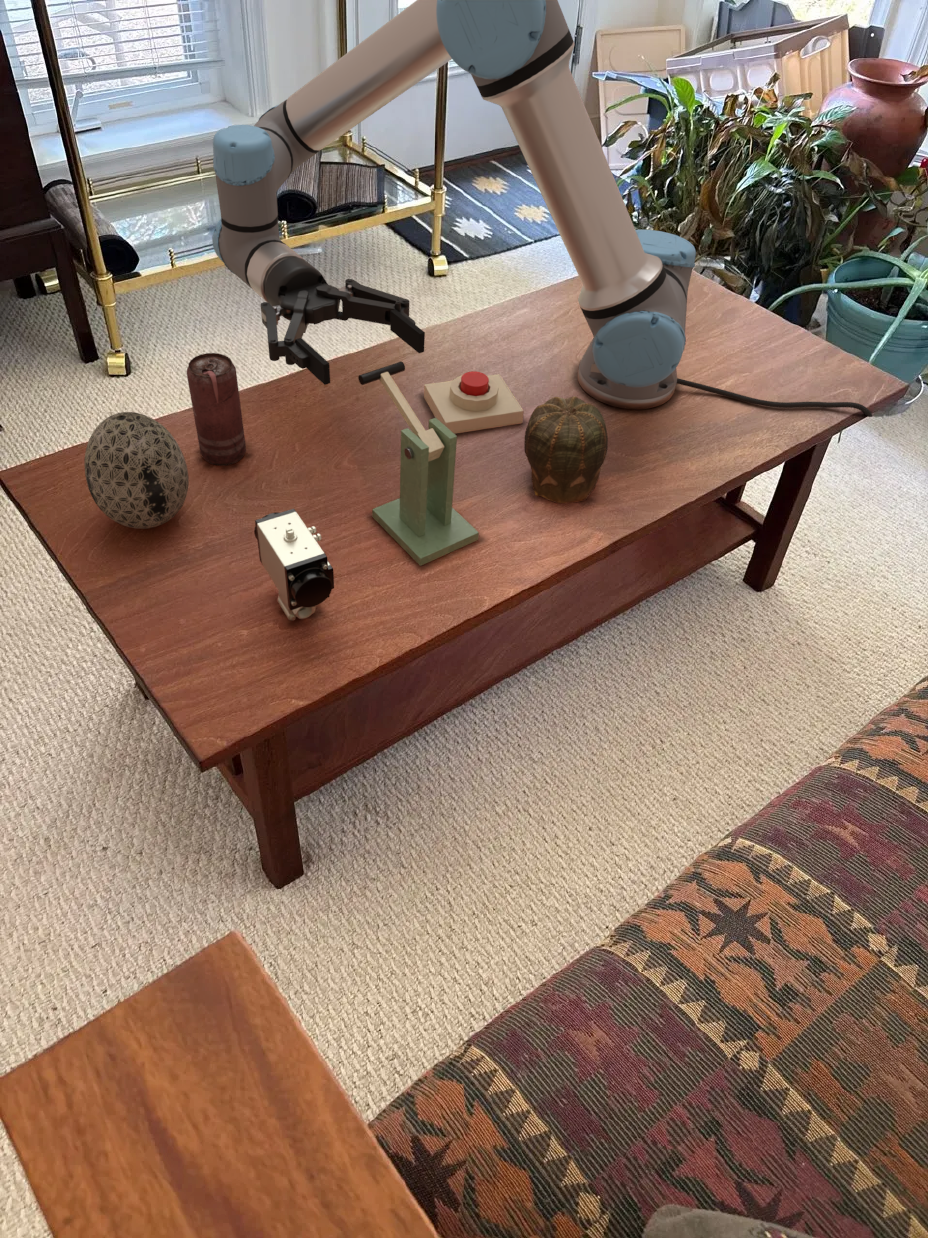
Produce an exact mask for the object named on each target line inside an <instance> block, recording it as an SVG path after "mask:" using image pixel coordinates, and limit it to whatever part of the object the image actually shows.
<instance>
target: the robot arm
mask: <svg viewBox="0 0 928 1238" xmlns="http://www.w3.org/2000/svg"><path fill="white" fill-rule="evenodd" d="M574 48H575V41H574V38H573V35H572V33H571V31H570V28H569V26H568V23H567V21H566V18H565V16H564V13H563V11H562V7H561V6H560V3H559V1H558V0H415V1H414V2H412V3H411V4H410V5H409V6H407V7H406V8H405V9H403V10H401V11H400V12H399V13H398V14H396V15H395V16H394V17H392V18H391V19H390V20H389V21H387V22H386V23H385V24H383V25H382V26H381V27H380V28H378V29H377V30H375V31H374V32H372V33H371V34H370V35H369V36H367V37H366V38H365V39H364V40H362V41H361V42H359V43H358V44H357V45H355V46H354V47H353V48H352V49H350V50H349V51H348V52H346V53H345V54H344V55H342V56H341V57H339V58H338V59H337V60H336V61H334V62H333V63H331V64H330V65H329V66H328V67H326V68H325V69H324V70H323V71H321V72H320V73H318V74H317V75H316V76H315V77H313V78H312V79H310V80H309V81H308V82H307V83H306V84H304V85H303V86H302V87H300V88H299V89H298V90H296V91H295V92H293V93H292V94H291V95H290V96H288V98H287V99H285V100H284V101H282V102H280V103H278V104H276V105H275V106H272V107H271V108H269V109H268V110H266V111H265V112H264V113H263V114H261V116H260V117H259V118H258V120H257V122H256V123H255V124H254V125H251V124H232V125H228V127H223V128H220V129H219V130H217V132H215V134H214V135H213V138H212V154H213V157H212V164H213V165H212V167H213V170H214V175H215V181H216V189H217V196H218V204H219V211H220V219H219V220H218V221H217V223H216V224H215V228H214V231H213V234H212V239H211V241H212V247H213V250H214V253H215V254H216V256H217V257H218V258H219V260H220V261H221V262H222V263H223V264H224V266H225V267H226V268H227V270H229V272H231V273H232V274H233V275H235V276H236V277H237V278H239V279H240V280H241V281H242V282H243V283H245V284H246V285H247V286H248V287H249V288H250V289H252V290H253V292H254V293H256V294H257V295H258V296H259V297H260V298H261V299H262V300H264V302H261V303H260V314H261V315H260V316H261V323H262V324H263V326H264V327H265V328H266V335H267V346H268V347H267V348H268V356H269V360H270V361H271V362H278V361H279V360H280V358H284V357H285V364H286V365H288V366H293V365H296V366H297V367H298V368H300V369H302V370H305V369H307V370H308V371H309V372H310V373H311V374H312V375H313V376H314V377H315V378H316V379H318V380H319V381H320V382H321V383H322V384H323V385H324V386H326V385H329V384H331V369H330V367H331V366H330V362H329V361H328V360H327V359H325V358H324V357H323V356H322V355H321V354H320V353H318V351H317V350H315V349H314V348H313V347H312V346H311V345H310V344H309V343H308V342H306V340H305V339H303V336H304V334H305V333H306V331H307V329H308V326H309V325H310V324H311V325H312V324H313V325H315V326H316V325H318V324H321V323H323V322H325V321H332V320H338V321H345V322H346V321H348V320H349V319H352V320H358V321H364V322H370V323H375V324H378V325H379V324H380V325H386V326H390V327H389V330H390V331H391V332H392V333H393V334H395V335H396V336H397V337H398V338H399V339H401V340H402V341H403V342H404V343H405V344H407V345H408V346H409V347H411V349H413V350H414V351H415V352H416V353H418V354H422V353H425V343H426V341H425V338H426V332H425V331H424V330H423V329H422V328H420V327H419V326H418V325H416V320H414V319H413V318H412V317H410V300H409V299H408V298H404V297H401V296H398V295H396V294H392V293H388V292H386V291H382V290H379V289H376V288H374V287H370V286H366V285H363V284H361V283H360V282H358V281H356V280H355V279H353V278H346V279H345V282H344V283H345V284H344V286H341V287H339V288H338V287H336V286H334V285H331V284H329V283H328V282H327V280H326V279H325V277H324V276H323V274H322V273H321V272H320V271H319V270H318V269H317V268H316V267H315V266H313V265H312V264H311V263H310V262H308V261H307V260H306V259H305V258H303V256H301V255H300V254H299V253H297V252H296V251H295V250H293V249H292V248H291V247H290V246H288V244H286V243H285V242H284V241H283V240H282V239H281V238H280V229H279V228H280V227H279V212H278V211H279V210H278V198H277V192H278V190H280V188H281V187H282V185H284V184H285V182H286V181H287V180H288V179H289V178H290V176H291V175H292V174H293V172H295V170H297V169H298V168H299V167H300V166H301V165H303V164H304V163H305V162H307V161H309V160H310V159H311V158H312V157H314V156H315V155H316V154H318V153H319V152H320V151H322V150H323V149H324V148H326V147H328V146H329V145H330V144H332V143H333V142H335V141H336V140H337V139H339V138H341V137H342V136H343V135H345V134H346V133H347V132H349V131H351V130H352V129H353V128H355V127H356V126H358V125H359V124H360V123H362V122H363V121H365V120H366V119H368V118H369V117H371V116H372V115H373V114H375V113H376V112H378V111H379V110H381V109H382V108H383V107H385V106H386V105H388V104H389V103H391V102H392V101H394V100H395V99H397V98H398V97H400V96H401V95H402V94H404V93H405V92H407V91H408V90H410V89H411V88H412V87H414V86H416V85H417V84H418V83H420V82H421V81H423V80H424V79H425V78H427V77H428V76H430V75H432V73H434V72H435V71H437V70H438V69H440V68H442V67H443V66H444V65H446V64H447V63H449V62H450V61H451V60H452V62H454V63H455V64H456V65H457V66H458V67H459V68H461V69H462V70H463V71H464V72H467V73H469V74H470V75H471V77H472V80H473V82H474V84H475V85H476V88H477V90H478V92H479V95H480V97H481V99H482V100H483V101H485V102H488V103H491V104H495V105H498V106H499V107H500V108H501V110H502V112H503V114H504V116H505V119H506V121H507V122H508V125H509V127H510V130H511V132H512V133H513V135H514V138H515V139H516V142H517V144H518V146H519V149H520V151H521V153H522V155H523V158H524V160H525V161H526V164H527V167H528V168H529V171H530V173H531V175H532V177H533V179H534V182H535V183H536V186H537V188H538V191H539V193H540V195H541V197H542V199H543V201H544V203H545V205H546V207H547V210H548V212H549V214H550V216H551V219H552V220H553V223H554V225H555V227H556V230H557V231H558V234H559V236H560V238H561V240H562V242H563V244H564V247H565V250H566V251H567V254H568V256H569V258H570V260H571V262H572V264H573V266H574V269H575V271H576V273H577V275H578V277H579V280H580V281H581V284H582V286H581V289H580V292H579V293H578V297H577V302H578V306H579V308H580V310H581V312H582V314H583V316H584V318H585V321H586V323H587V325H588V327H589V330H590V331H591V334H592V336H593V337H592V338H591V341H590V343H589V345H588V347H587V348H586V350H585V351H584V353H583V355H582V356H581V359H580V361H579V364H578V369H577V382H578V384H579V386H580V387H581V389H582V390H583V391H584V392H585V394H588V395H589V396H590V397H591V398H593V399H594V400H597V401H598V402H601V403H603V404H604V405H608V406H612V407H615V408H619V409H625V410H645V409H646V410H647V409H652V408H657V407H659V406H661V405H663V404H665V403H666V402H668V401H669V400H670V399H672V397H673V396H674V393H675V391H676V386H677V385H681V386H685V387H689V388H693V389H697V390H701V391H704V392H708V393H713V394H715V395H716V394H717V395H720V396H724V397H727V398H731V399H733V400H737V401H742V402H746V403H749V404H754V405H758V406H763V407H769V408H778V409H779V408H780V409H781V408H783V409H785V408H787V409H794V408H828V409H832V408H833V409H834V408H851V409H856V410H858V411H860V412H862V413H863V414H864V415H865V416H866V417H868V418H872V417H873V414H872V412H871V410H870V409H868V407H866V406H865V405H863V404H860V403H859V402H853V401H834V402H833V401H831V402H830V401H829V402H828V401H827V402H826V401H795V402H794V401H791V402H784V401H783V402H782V401H771V400H765V399H758V398H754V397H750V396H746V395H742V394H739V393H736V392H732V391H729V390H725V389H722V388H721V389H720V388H717V387H713V386H710V385H706V384H702V383H698V382H694V381H691V380H687V379H683V378H678V371H677V367H678V366H679V364H680V362H681V360H682V357H683V353H684V351H685V347H686V344H687V343H686V341H687V336H686V327H687V326H686V325H687V324H686V323H687V308H688V307H687V306H688V305H687V304H688V294H689V293H688V292H689V286H690V281H691V278H692V273H693V270H694V268H695V266H696V263H695V262H696V256H697V252H696V251H697V250H696V248H695V246H694V244H692V242H690V241H689V240H687V239H686V238H684V237H682V236H679V235H677V234H673V233H670V232H665V231H662V230H654V229H636V228H635V225H634V223H633V221H632V218H631V216H630V213H629V210H628V208H627V206H626V204H625V201H624V198H623V197H622V193H621V191H620V189H619V187H618V184H617V181H616V179H615V176H614V174H613V172H612V169H611V167H610V164H609V162H608V159H607V158H606V154H605V153H604V149H603V147H602V144H601V142H600V140H599V137H598V135H597V132H596V130H595V127H594V125H593V123H592V121H591V117H590V116H589V113H588V110H587V108H586V106H585V103H584V100H583V99H582V97H581V94H580V91H579V88H578V86H577V83H576V81H575V79H574V77H573V74H572V71H571V69H570V62H571V61H570V60H571V58H572V54H573V51H574ZM340 305H341V311H340ZM281 317H282V318H283V319H285V320H287V321H289V324H288V327H287V330H286V331H285V334H284V337H283V340H279V334H278V325H279V321H281Z"/></svg>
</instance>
